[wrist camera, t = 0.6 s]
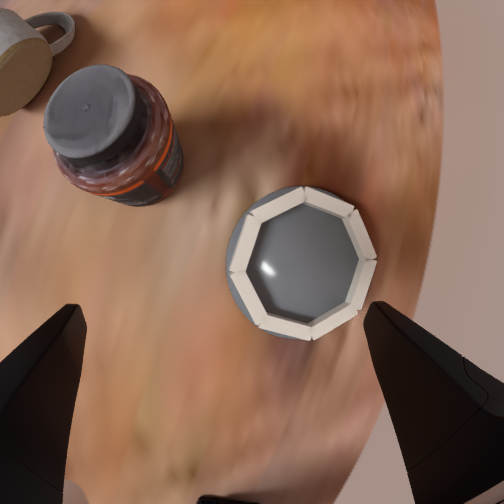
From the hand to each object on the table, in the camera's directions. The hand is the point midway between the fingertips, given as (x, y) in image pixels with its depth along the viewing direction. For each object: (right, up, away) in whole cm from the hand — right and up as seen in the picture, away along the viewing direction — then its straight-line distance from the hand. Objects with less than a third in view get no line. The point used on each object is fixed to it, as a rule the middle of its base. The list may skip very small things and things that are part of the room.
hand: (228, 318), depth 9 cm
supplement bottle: (-7, +8, +12) cm, 16 cm away
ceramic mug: (-19, +18, +10) cm, 28 cm away
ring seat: (+4, +1, +14) cm, 14 cm away
